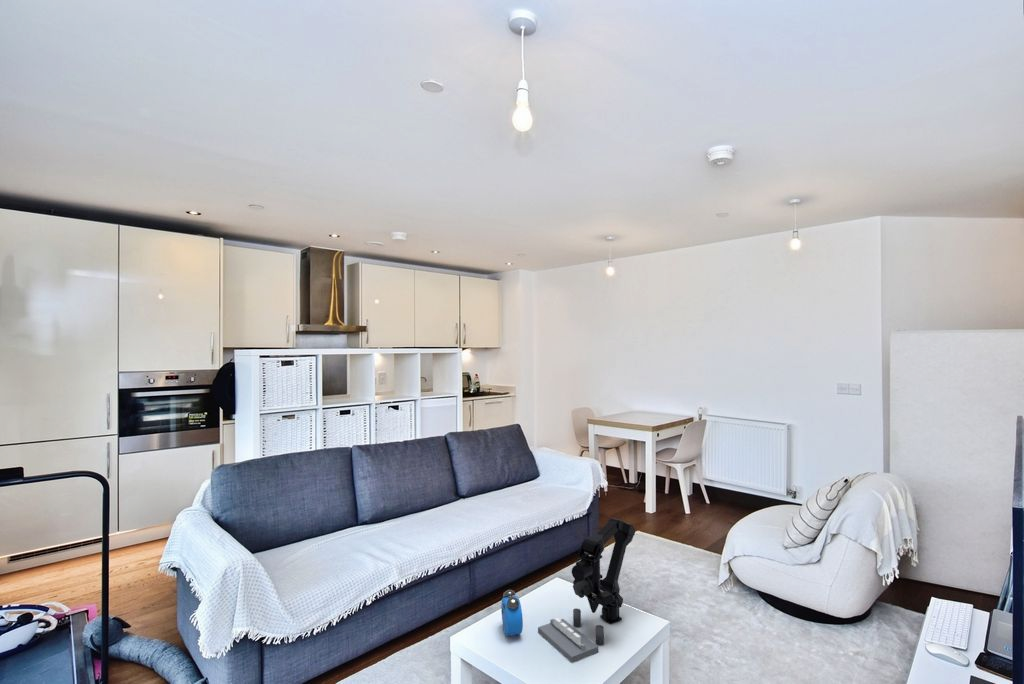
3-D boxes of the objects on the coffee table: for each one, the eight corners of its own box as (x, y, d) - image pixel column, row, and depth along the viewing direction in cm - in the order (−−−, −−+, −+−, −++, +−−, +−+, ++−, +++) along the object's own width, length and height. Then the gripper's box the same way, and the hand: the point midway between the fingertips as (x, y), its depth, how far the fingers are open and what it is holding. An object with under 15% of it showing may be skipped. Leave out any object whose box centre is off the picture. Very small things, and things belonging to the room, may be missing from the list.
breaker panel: (563, 623, 196) (562, 614, 196) (598, 652, 177) (598, 641, 177) (538, 632, 190) (537, 622, 190) (571, 662, 171) (571, 651, 171)
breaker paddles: (555, 623, 191) (554, 615, 192) (583, 647, 176) (583, 638, 176) (552, 624, 191) (551, 616, 191) (580, 648, 175) (580, 639, 175)
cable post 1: (577, 622, 196) (577, 607, 196) (582, 626, 194) (582, 611, 194) (571, 624, 195) (571, 609, 195) (576, 628, 192) (576, 613, 192)
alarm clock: (523, 641, 184) (522, 601, 184) (507, 643, 183) (506, 603, 183) (515, 623, 197) (515, 585, 197) (500, 625, 195) (500, 587, 196)
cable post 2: (600, 640, 184) (600, 624, 184) (605, 644, 182) (605, 627, 182) (594, 642, 183) (593, 626, 183) (599, 646, 180) (599, 630, 180)
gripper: (562, 567, 194) (562, 607, 194) (591, 586, 178) (592, 630, 178) (584, 561, 200) (585, 600, 199) (614, 579, 184) (615, 621, 183)
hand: (593, 612), depth 190 cm, fingers closed
